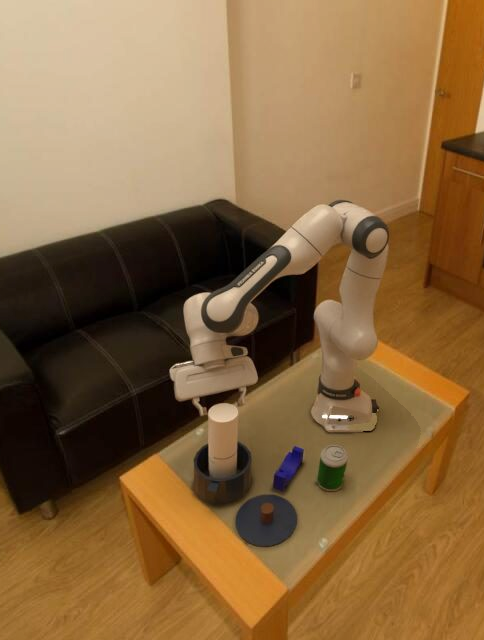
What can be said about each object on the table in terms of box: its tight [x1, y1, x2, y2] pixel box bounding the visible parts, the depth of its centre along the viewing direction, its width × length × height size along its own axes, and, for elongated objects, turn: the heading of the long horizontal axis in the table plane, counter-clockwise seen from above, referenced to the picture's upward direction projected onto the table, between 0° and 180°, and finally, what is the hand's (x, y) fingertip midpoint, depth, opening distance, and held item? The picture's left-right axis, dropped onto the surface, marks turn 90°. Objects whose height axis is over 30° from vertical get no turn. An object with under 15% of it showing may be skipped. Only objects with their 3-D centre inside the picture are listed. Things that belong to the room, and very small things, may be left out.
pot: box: [193, 440, 253, 506], centre depth 132 cm, size 15×20×10 cm
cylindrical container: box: [207, 402, 239, 479], centre depth 128 cm, size 7×7×25 cm
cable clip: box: [272, 445, 305, 493], centre depth 139 cm, size 12×4×6 cm, turn 160°
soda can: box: [316, 444, 349, 492], centre depth 138 cm, size 8×8×12 cm
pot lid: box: [235, 493, 298, 548], centre depth 126 cm, size 15×15×5 cm
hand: (223, 410), depth 123 cm, fingers open, 8 cm apart
